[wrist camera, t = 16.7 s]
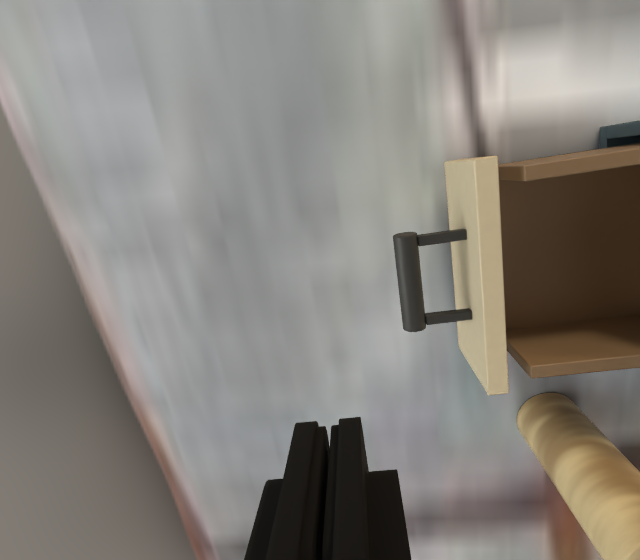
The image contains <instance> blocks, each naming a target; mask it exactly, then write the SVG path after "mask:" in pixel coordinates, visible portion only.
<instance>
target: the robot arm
mask: <svg viewBox="0 0 640 560" xmlns="http://www.w3.org/2000/svg"><path fill="white" fill-rule="evenodd" d="M244 560H411V555H410V548H409V542H408V536H407V529H406V523H405V516H404V510H403V504H402V497H401V491H400V485H399V478H398V472H397V470H385V471H372V472H369V471H368V464H367V457H366V450H365V444H364V437H363V430H362V424H361V418H360V417H355V418H344V419H339V425H333V426H332V427H331V439H330V447H329V441H328V435H327V430H326V427H325V426H322V427H319V426H318V422H317V421H313V422H303V423H296V424H295V427H294V432H293V436H292V441H291V445H290V450H289V455H288V459H287V464H286V468H285V473H284V477H283V479H274V480H268V481H267V482H266V484H265V486H264V489H263V493H262V497H261V500H260V504H259V508H258V511H257V515H256V519H255V522H254V526H253V530H252V533H251V537H250V540H249V544H248V548H247V551H246V555H245V559H244Z"/></svg>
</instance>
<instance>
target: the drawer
mask: <svg viewBox="0 0 640 560" xmlns="http://www.w3.org/2000/svg"><path fill="white" fill-rule="evenodd" d="M445 176H446V189H447V202H448V215H449V227H450V230H449V231H442V232H435V233H428V234H421V235H417V233H416V232H404V233H398V234H395V235H394V236H393V241H394V250H395V259H396V268H397V277H398V286H399V295H400V303H401V312H402V321H403V329H404V330H405V331H408V332H418V331H422V330H424V329H425V328H426V324H427V325H431V324H439V323H448V322H456V321H457V330H458V343H459V348H460V350H461V351H462V353H463V355H464V356H465V358H466V359H467V361H468V363H469V364H470V366H471V368H472V369H473V371H474V373H475V374H476V376H477V377H478V379H479V381H480V382H481V384H482V386H483V387H484V389H485V390H486V392H487V394H488V395H496V394H507V393H509V386H508V365H507V351H508V352H509V353H510V355H511V356H512V357H513V358H514V359H515V360H516V361H517V363H518V364H519V365H520V366H521V367H522V368H523V369H524V371H525V372H526V373H527V374H528V375H529V376H530V378H540V377H550V376H560V375H570V374H580V373H590V372H600V371H610V370H620V369H630V368H639V367H640V143H633V144H627V145H621V146H614V147H608V148H601V149H595V150H589V151H582V152H576V153H569V154H563V155H557V156H550V157H544V158H537V159H531V160H525V161H518V162H512V163H505V164H499V165H498V157H497V156H488V157H478V158H468V159H459V160H453V161H447V162H445ZM446 242H451V253H452V266H453V279H454V292H455V304H456V310H449V311H441V312H433V313H425V311H424V301H423V291H422V280H421V270H420V260H419V250H418V246H425V245H432V244H439V243H446Z"/></svg>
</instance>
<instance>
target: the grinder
mask: <svg viewBox="0 0 640 560" xmlns="http://www.w3.org/2000/svg"><path fill="white" fill-rule="evenodd" d="M517 426H518V429H519V431H520V432H521V434H522V436H523V437H524V439H525V440H526V442H527V443H528V445H529V446H530V448H531V449H532V451H533V453H534V454H535V456H536V457H537V459H538V460H539V462H540V463H541V465H542V466H543V468H544V470H545V471H546V473H547V474H548V476H549V477H550V479H551V480H552V482H553V483H554V485H555V486H556V488H557V490H558V491H559V493H560V494H561V496H562V497H563V499H564V500H565V502H566V503H567V505H568V507H569V508H570V510H571V511H572V513H573V514H574V516H575V517H576V519H577V520H578V522H579V524H580V525H581V527H582V528H583V530H584V531H585V533H586V534H587V536H588V537H589V539H590V540H591V542H592V544H593V545H594V547H595V548H596V550H597V551H598V553H599V554H600V556H601V557H602V559H603V560H640V472H639V471H638V470H637V469H636V468H635V467H634V466H633V465H632V463H631V462H630V461H629V460H628V459H627V458H626V457H625V456H624V455H623V454H622V453H621V452H620V451H619V450H618V449H617V448H616V447H615V446H614V445H613V444H612V443H611V442H610V441H609V439H608V438H607V437H606V436H605V435H604V434H603V433H602V432H601V431H600V430H599V429H598V428H597V427H596V426H595V425H594V424H593V423H592V422H591V421H590V420H589V419H588V418H587V417H586V415H585V414H584V413H583V412H582V411H581V410H580V409H579V408H578V407H577V406H576V405H575V404H574V403H573V402H572V401H571V400H570V399H569V398H567V397H566V396H563V395H561V394H557V393H542V394H538V395H536V396H534V397H532V398H530V399H529V400H527V401H526V402H525V403H524V404H523V405H522V407H521V408H520V410H519V412H518V416H517Z"/></svg>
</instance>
